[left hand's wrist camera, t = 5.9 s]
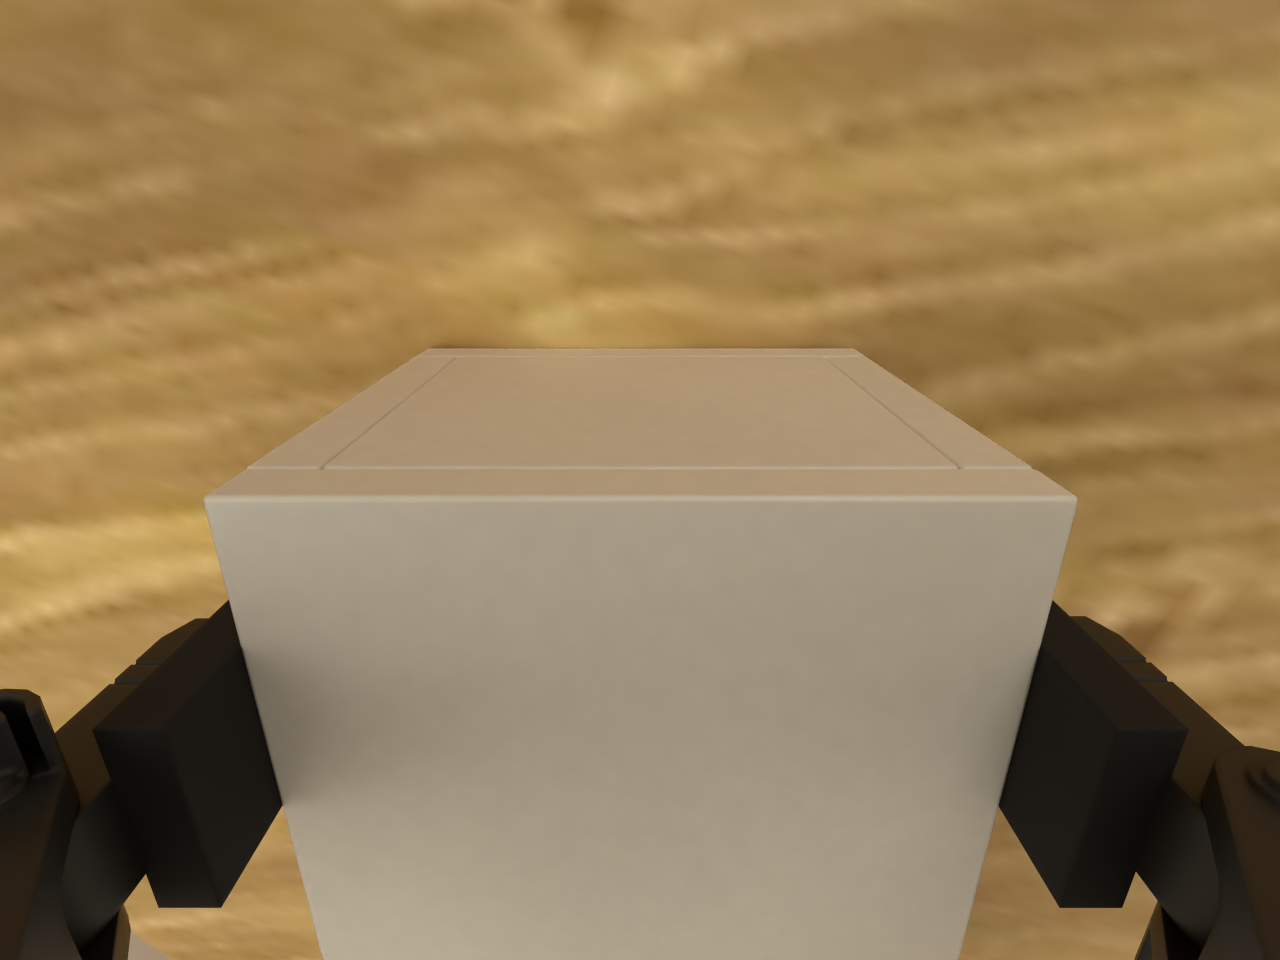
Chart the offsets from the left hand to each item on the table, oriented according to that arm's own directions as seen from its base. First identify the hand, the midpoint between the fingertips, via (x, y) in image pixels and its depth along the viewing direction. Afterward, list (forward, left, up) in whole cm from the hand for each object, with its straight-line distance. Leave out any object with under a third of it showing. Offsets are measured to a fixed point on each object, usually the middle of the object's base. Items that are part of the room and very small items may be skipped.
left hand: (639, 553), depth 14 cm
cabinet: (+6, -3, -4) cm, 7 cm away
